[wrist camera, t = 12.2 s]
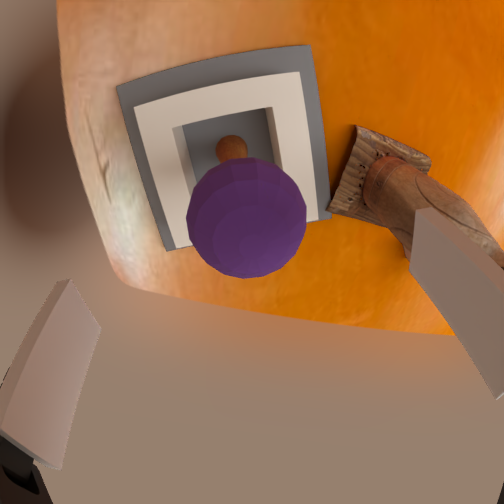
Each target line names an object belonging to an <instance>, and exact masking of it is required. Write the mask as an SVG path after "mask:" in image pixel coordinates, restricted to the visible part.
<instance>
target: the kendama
mask: <svg viewBox="0 0 504 504" xmlns="http://www.w3.org/2000/svg"><path fill="white" fill-rule="evenodd" d="M215 150H216V156H217V158H218V160H219V161H220V163H221V164H219V165H217V166H215V167H213V168H211V169H210V170H208V171H207V172H206V173H205V175H204V176H203V177H202V178H201V179H200V181H199V182H198V183H197V184H196V186H195V187H194V188H193V192H192V195H191V199H190V203H189V206H188V210H187V215H186V222H187V228H188V234H189V240H190V241H191V243H192V244H193V245H194V247H195V248H196V250H197V251H198V253H199V254H200V256H201V257H202V258H203V259H204V260H205V262H206V263H207V264H209V265H210V266H212V267H213V268H215V269H216V270H218V271H219V272H221V273H223V274H225V275H229V276H233V277H238V278H242V279H244V278H253V277H262V276H265V275H267V274H269V273H272V272H274V271H276V270H278V269H280V268H282V267H283V266H284V265H285V264H286V263H287V262H288V261H289V260H290V259H291V258H292V257H293V256H294V255H295V254H296V252H297V249H298V247H299V245H300V243H301V241H302V239H303V236H304V233H305V230H306V216H307V206H306V204H305V201H304V199H303V197H302V194H301V192H300V190H299V187H298V186H297V184H296V183H295V182H294V180H293V179H292V178H291V177H290V176H289V175H287V174H286V173H285V172H284V171H283V170H282V169H281V168H279V167H278V166H277V165H276V164H274V163H270V162H267V161H264V160H261V159H258V158H255V157H249V158H247V155H248V148H247V144H246V142H245V141H244V140H243V139H242V138H241V137H239V136H236V135H227V136H225V137H223V138H221V139H220V141H219V142H218V143H217V146H216V149H215Z"/></svg>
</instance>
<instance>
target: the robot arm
mask: <svg viewBox="0 0 504 504" xmlns="http://www.w3.org/2000/svg"><path fill="white" fill-rule="evenodd" d="M409 271H410V273H411V274H412V275H413V276H414V278H415V279H416V280H417V282H418V283H419V284H420V286H421V287H422V288H423V289H424V291H425V292H426V293H427V295H428V296H429V297H430V299H431V300H432V302H433V303H434V304H435V306H436V307H437V308H438V310H439V311H440V313H441V314H442V315H443V317H444V318H445V320H446V321H447V323H448V324H449V325H450V327H451V328H452V330H453V331H454V333H455V334H456V336H457V337H458V339H459V340H460V342H461V343H462V345H463V346H464V348H465V349H466V351H467V352H468V354H469V356H470V357H471V359H472V360H473V362H474V364H475V365H476V367H477V369H478V370H479V372H480V374H481V375H482V377H483V379H484V380H485V382H486V384H487V386H488V387H489V389H490V391H491V393H492V394H493V396H494V398H495V400H497V399H498V398H500V397H501V396H503V395H504V267H500V266H499V265H498V264H497V263H496V262H495V261H494V260H493V259H492V258H491V257H490V256H488V255H487V254H486V253H485V252H484V251H483V250H482V249H481V248H480V247H479V246H478V245H477V244H475V243H474V242H473V241H472V240H471V239H470V238H469V237H468V236H466V235H465V234H464V233H463V232H462V231H461V230H459V229H458V228H457V227H456V226H455V225H453V224H452V223H451V222H450V221H449V220H447V219H446V218H445V217H444V216H443V215H441V214H440V213H439V212H437V211H436V210H435V209H434V208H432V207H428V208H423V209H417V210H416V213H415V224H414V234H413V243H412V252H411V259H410V266H409ZM100 332H101V328H100V326H99V324H98V323H97V321H96V320H95V318H94V317H93V315H92V313H91V312H90V310H89V309H88V307H87V305H86V304H85V302H84V300H83V299H82V297H81V295H80V293H79V292H78V290H77V288H76V286H75V285H74V283H73V281H72V279H67V280H62V281H58V282H57V283H56V285H55V286H54V288H53V289H52V291H51V293H50V294H49V296H48V298H47V299H46V301H45V302H44V304H43V306H42V307H41V310H40V311H39V313H38V314H37V316H36V318H35V320H34V321H33V323H32V325H31V327H30V329H29V331H28V332H27V334H26V336H25V338H24V340H23V342H22V344H21V346H20V348H19V350H18V352H17V354H16V356H15V358H14V360H13V362H12V364H11V366H10V367H9V369H8V371H7V373H6V375H5V377H4V379H3V383H2V384H1V386H0V504H53V502H52V500H51V498H50V496H49V494H48V491H47V489H46V486H45V484H44V482H43V479H42V477H41V474H40V471H39V470H38V468H37V466H35V465H34V464H33V460H34V459H35V460H36V461H38V462H40V463H41V464H43V465H44V466H47V467H50V468H54V469H57V470H62V464H63V459H64V455H65V450H66V446H67V441H68V437H69V433H70V429H71V425H72V421H73V417H74V413H75V410H76V406H77V403H78V399H79V395H80V392H81V389H82V385H83V382H84V379H85V376H86V373H87V370H88V367H89V364H90V360H91V358H92V355H93V352H94V349H95V346H96V343H97V340H98V338H99V335H100ZM497 504H504V483H503V487H502V490H501V493H500V496H499V499H498V502H497Z"/></svg>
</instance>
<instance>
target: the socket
mask: <svg viewBox="0 0 504 504" xmlns="http://www.w3.org/2000/svg"><path fill="white" fill-rule="evenodd" d="M116 88H117V92H118V96H119V101H120V105H121V108H122V112H123V116H124V120H125V124H126V127H127V131H128V135H129V138H130V142H131V145H132V149H133V152H134V156H135V159H136V162H137V166H138V169H139V172H140V175H141V179H142V182H143V185H144V188H145V191H146V194H147V197H148V200H149V203H150V206H151V209H152V212H153V215H154V218H155V221H156V224H157V227H158V230H159V232H160V235H161V238H162V241H163V244H164V246H165V249H166V252H167V251H172V250H176V249H181V248H186V247H190V246H194V245H193V244H192V243H191V241H190V240H189V234H188V228H187V222H186V215H187V210H188V206H189V203H190V199H191V195H192V192H193V188H194V187H195V186H196V184H197V183H198V182H199V181H200V179H201V178H202V177H203V176H204V175H205V173H206V172H207V171H208V170H210V169H211V168H213V167H215V166H217V165H219V164H221V163H220V161H219V160H218V158H217V156H216V150H215V149H216V146H217V143H218V142H219V141H220V139H221V138H223V137H225V136H227V135H236V136H239V137H241V138H242V139H243V140H244V141H245V142H246V144H247V148H248V155H247V158H249V157H255V158H258V159H261V160H264V161H267V162H270V163H274V164H276V165H277V166H278V167H279V168H281V169H282V170H283V171H284V172H285V173H286V174H287V175H289V176H290V177H291V178H292V179H293V180H294V182H295V183H296V184H297V186H298V187H299V190H300V192H301V194H302V197H303V199H304V201H305V204H306V206H307V216H306V223H309V222H315V221H320V220H325V219H330V218H332V213H330V212H327V211H325V210H326V208H327V206H328V205H329V203H330V202H331V199H330V186H329V175H328V164H327V155H326V146H325V137H324V129H323V121H322V113H321V106H320V99H319V93H318V86H317V80H316V74H315V68H314V62H313V57H312V51H311V46H310V45H301V46H289V47H279V48H271V49H263V50H256V51H249V52H243V53H237V54H232V55H226V56H221V57H216V58H212V59H207V60H203V61H198V62H194V63H190V64H186V65H182V66H179V67H175V68H171V69H168V70H164V71H161V72H158V73H154V74H151V75H148V76H145V77H142V78H139V79H136V80H133V81H130V82H128V83H125V84H122V85H119V86H117V87H116Z"/></svg>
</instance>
